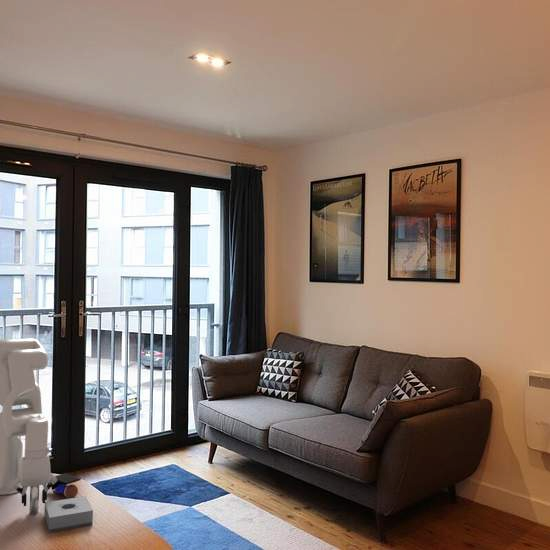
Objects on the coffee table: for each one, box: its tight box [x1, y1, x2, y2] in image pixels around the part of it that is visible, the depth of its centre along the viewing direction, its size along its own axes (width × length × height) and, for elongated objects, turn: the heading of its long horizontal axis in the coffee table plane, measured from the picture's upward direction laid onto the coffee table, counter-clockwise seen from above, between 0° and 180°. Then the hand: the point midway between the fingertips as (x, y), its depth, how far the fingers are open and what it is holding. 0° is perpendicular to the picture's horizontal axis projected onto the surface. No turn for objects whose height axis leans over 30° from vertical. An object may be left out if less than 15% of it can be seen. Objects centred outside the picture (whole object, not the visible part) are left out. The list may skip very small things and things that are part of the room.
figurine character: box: [50, 472, 82, 499], centre depth 216 cm, size 7×8×15 cm
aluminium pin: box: [28, 485, 40, 515], centre depth 198 cm, size 3×3×11 cm
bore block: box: [43, 495, 94, 533], centre depth 192 cm, size 14×14×5 cm
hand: (34, 503), depth 198 cm, fingers open, 5 cm apart
